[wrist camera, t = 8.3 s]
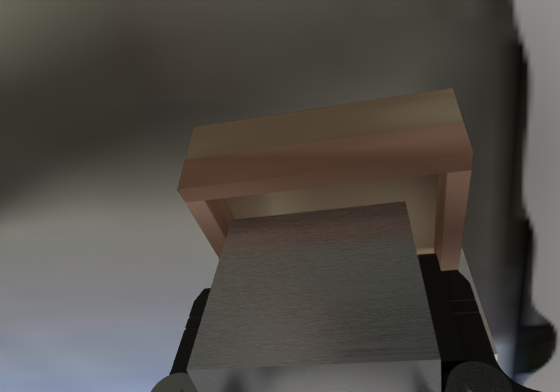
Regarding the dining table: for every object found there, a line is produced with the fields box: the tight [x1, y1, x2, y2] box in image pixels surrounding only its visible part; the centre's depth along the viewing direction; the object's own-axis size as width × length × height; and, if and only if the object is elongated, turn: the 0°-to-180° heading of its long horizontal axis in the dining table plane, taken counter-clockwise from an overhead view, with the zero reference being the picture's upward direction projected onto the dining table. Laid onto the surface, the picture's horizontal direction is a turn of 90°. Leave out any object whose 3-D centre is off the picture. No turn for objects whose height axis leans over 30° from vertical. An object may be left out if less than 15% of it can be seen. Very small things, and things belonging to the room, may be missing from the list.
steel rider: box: [186, 201, 441, 392], centre depth 12 cm, size 5×5×5 cm
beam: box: [177, 88, 474, 271], centre depth 23 cm, size 29×9×4 cm, turn 12°
